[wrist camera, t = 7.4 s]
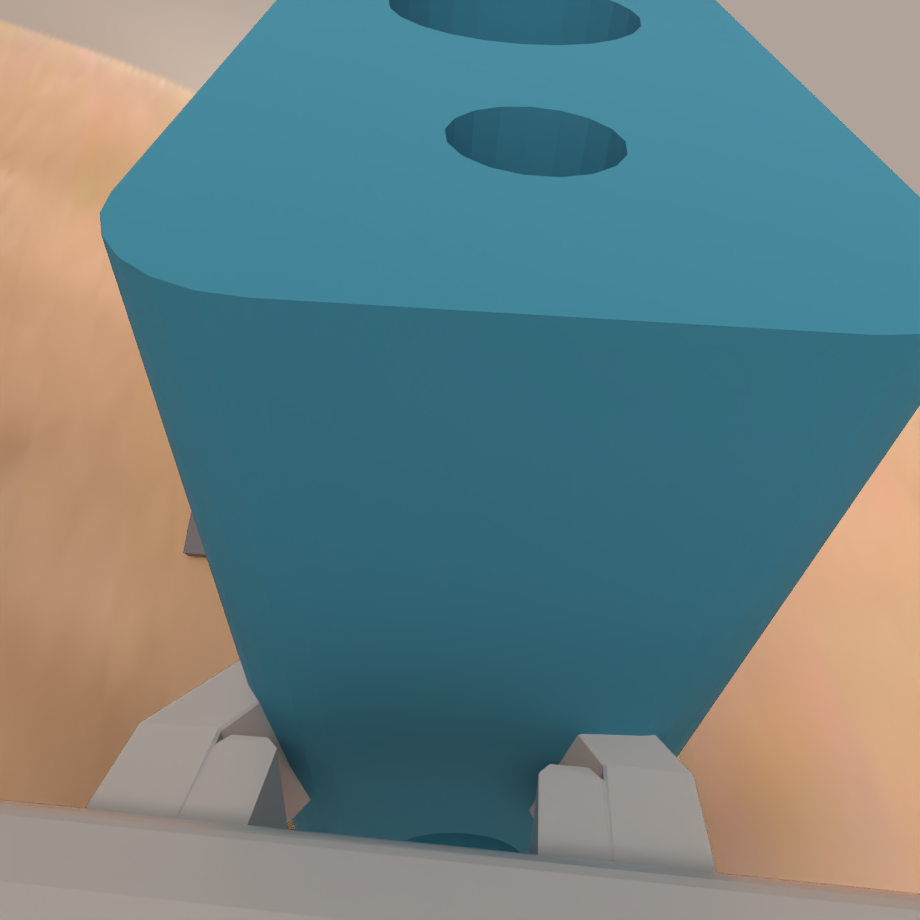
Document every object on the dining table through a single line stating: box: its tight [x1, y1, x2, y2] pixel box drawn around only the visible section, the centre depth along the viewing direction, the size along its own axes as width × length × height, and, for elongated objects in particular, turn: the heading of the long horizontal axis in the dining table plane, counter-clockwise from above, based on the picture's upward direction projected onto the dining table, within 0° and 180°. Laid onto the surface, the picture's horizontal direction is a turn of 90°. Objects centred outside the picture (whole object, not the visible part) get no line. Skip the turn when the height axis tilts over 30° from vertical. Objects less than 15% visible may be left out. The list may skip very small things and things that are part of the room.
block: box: [100, 0, 920, 854], centre depth 15 cm, size 12×5×20 cm, turn 0°
